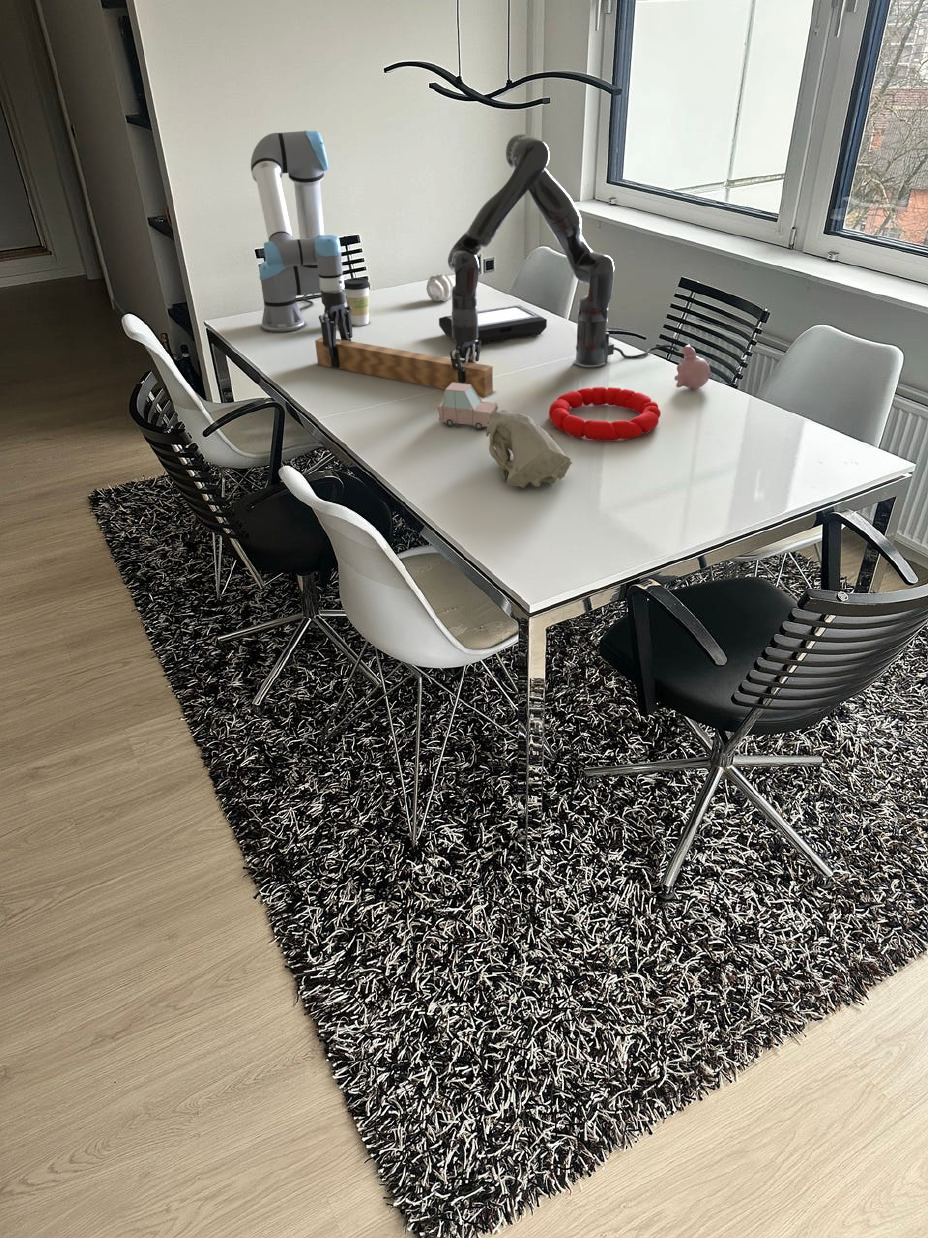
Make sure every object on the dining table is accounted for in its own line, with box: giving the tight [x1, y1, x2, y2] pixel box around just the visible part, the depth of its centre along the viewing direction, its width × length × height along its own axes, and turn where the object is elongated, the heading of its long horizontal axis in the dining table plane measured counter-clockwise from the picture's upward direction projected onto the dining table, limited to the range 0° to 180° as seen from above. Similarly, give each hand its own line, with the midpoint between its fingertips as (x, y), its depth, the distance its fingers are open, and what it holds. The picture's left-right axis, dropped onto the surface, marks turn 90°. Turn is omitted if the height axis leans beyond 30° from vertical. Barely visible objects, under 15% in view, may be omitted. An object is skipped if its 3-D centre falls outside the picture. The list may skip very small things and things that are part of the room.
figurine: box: [674, 344, 711, 390], centre depth 259 cm, size 9×11×12 cm
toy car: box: [437, 383, 499, 431], centre depth 243 cm, size 9×15×10 cm, turn 70°
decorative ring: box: [548, 386, 661, 442], centre depth 242 cm, size 7×30×30 cm
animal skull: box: [485, 409, 573, 489], centre depth 216 cm, size 17×25×20 cm
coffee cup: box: [343, 277, 371, 327], centre depth 323 cm, size 10×10×15 cm
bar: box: [314, 336, 494, 398], centre depth 276 cm, size 64×4×8 cm, turn 58°
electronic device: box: [438, 304, 548, 345], centre depth 309 cm, size 32×6×20 cm
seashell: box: [426, 274, 455, 302], centre depth 346 cm, size 10×15×10 cm
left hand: (340, 364), depth 288 cm, fingers closed on bar, 5 cm apart
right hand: (466, 379), depth 265 cm, fingers closed on bar, 4 cm apart
